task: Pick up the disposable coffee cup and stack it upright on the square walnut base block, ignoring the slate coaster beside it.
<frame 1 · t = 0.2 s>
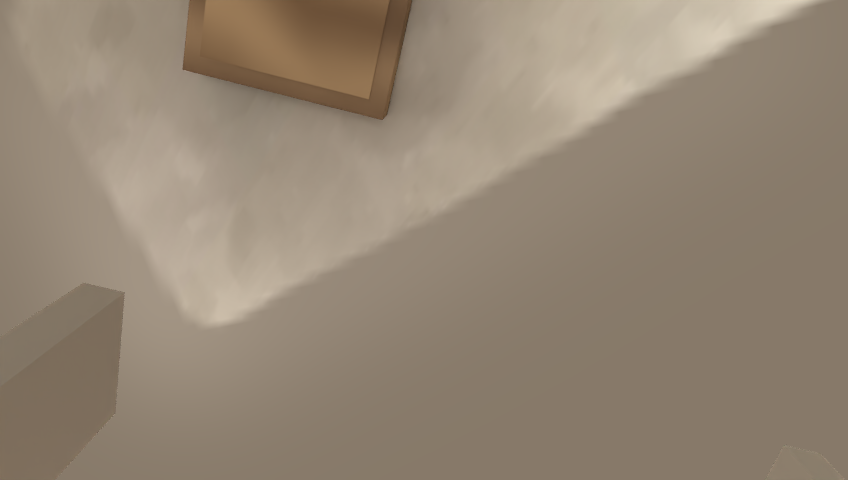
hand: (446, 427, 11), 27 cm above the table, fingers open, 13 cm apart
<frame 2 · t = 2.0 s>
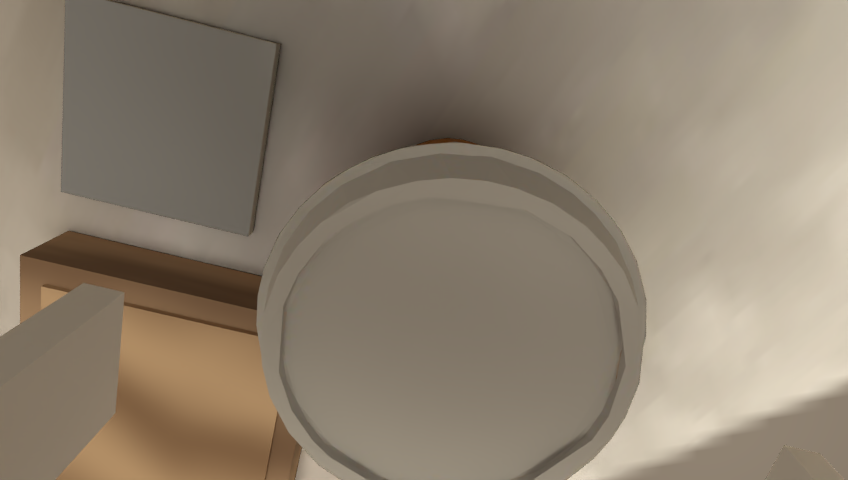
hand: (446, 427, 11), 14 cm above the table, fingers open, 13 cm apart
walnut base: (189, 374, 27), on the table
slate coaster: (170, 119, 23), on the table
disposable coffee cup: (447, 210, 24), on the table
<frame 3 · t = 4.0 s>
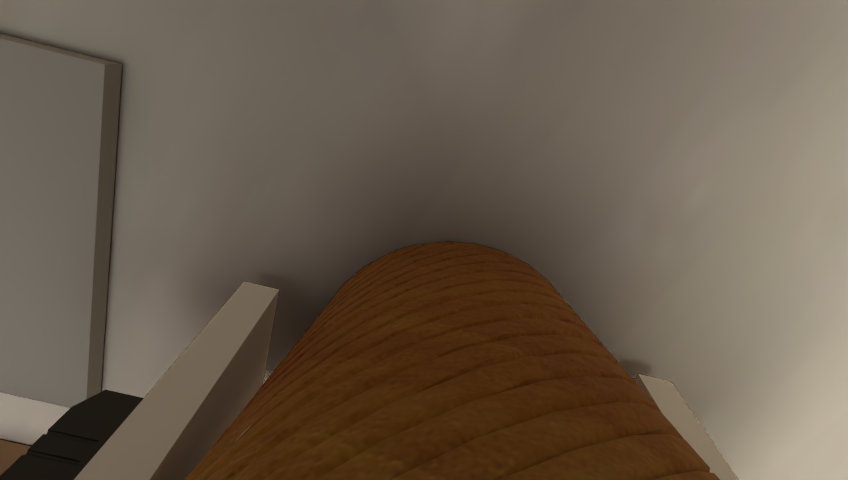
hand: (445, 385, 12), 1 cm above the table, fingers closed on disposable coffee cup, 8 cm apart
disposable coffee cup: (447, 362, 13), on the table, touching gripper
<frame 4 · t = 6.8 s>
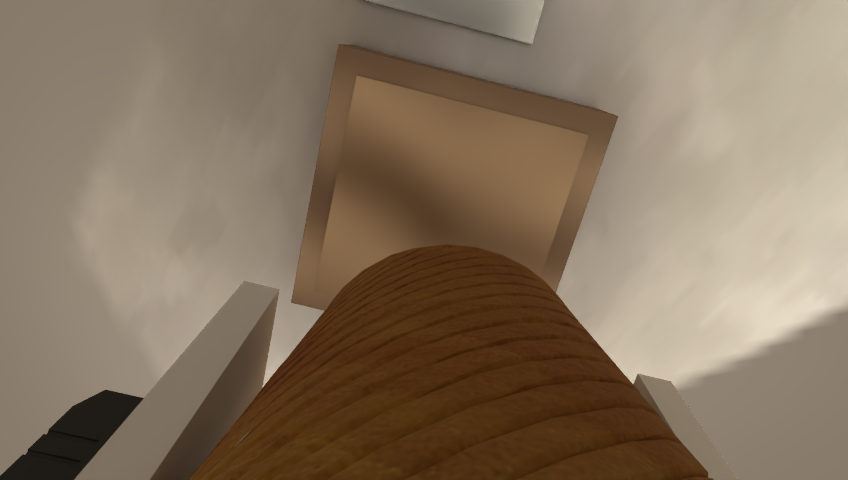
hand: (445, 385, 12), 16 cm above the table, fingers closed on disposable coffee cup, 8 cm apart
walnut base: (443, 198, 28), on the table
disposable coffee cup: (446, 364, 13), point 15 cm above the table, touching gripper
when the fingers open (5 cm above the table, at t = 9.6 s): disposable coffee cup stays where it is, resting on walnut base.
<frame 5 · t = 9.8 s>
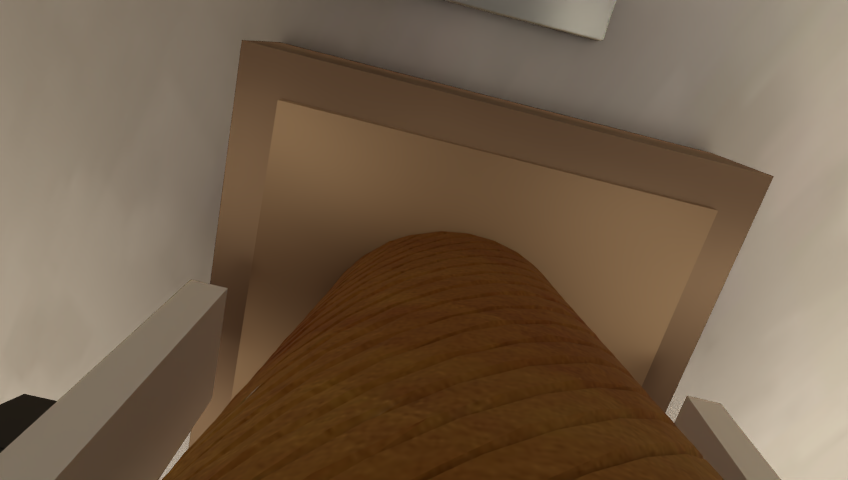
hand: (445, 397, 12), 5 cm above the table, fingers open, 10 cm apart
walnut base: (444, 296, 17), on the table
disposable coffee cup: (442, 347, 14), point 3 cm above the table, touching walnut base
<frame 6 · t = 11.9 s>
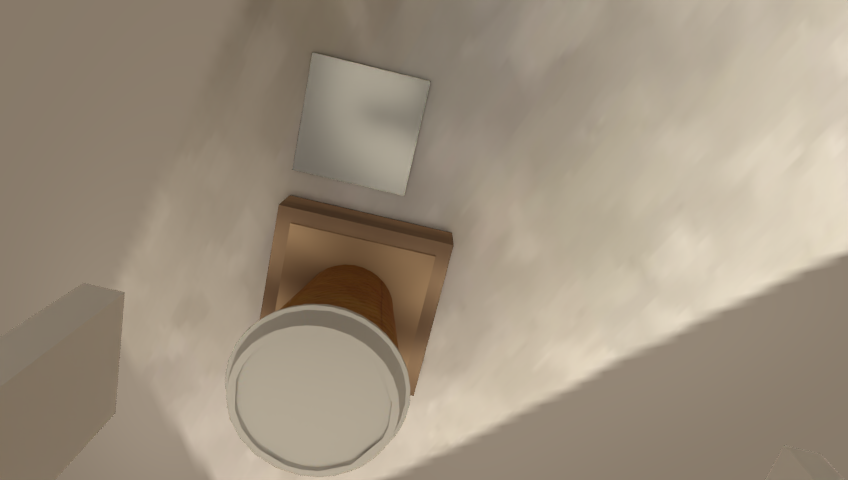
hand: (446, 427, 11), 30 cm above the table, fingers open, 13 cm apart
walnut base: (355, 289, 42), on the table
slate coaster: (360, 125, 39), on the table
disposable coffee cup: (348, 305, 39), point 3 cm above the table, touching walnut base
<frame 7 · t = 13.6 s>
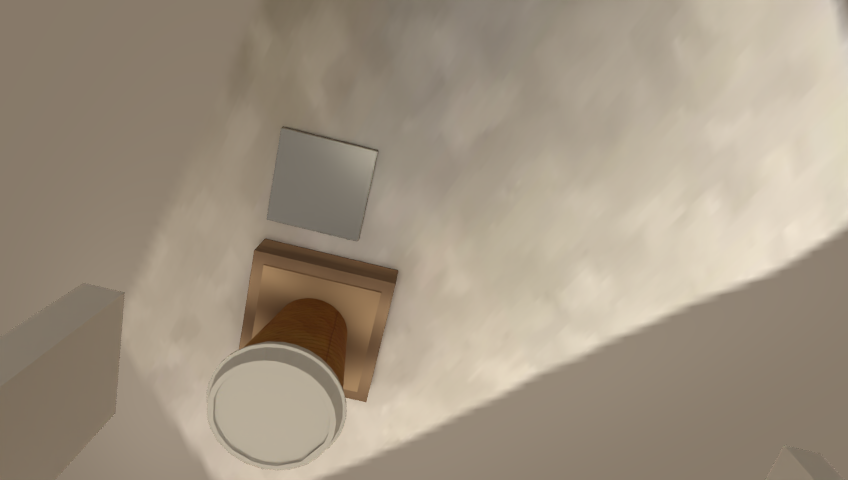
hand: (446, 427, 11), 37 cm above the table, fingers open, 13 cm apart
walnut base: (319, 314, 51), on the table
slate coaster: (322, 184, 47), on the table
disposable coffee cup: (311, 329, 48), point 3 cm above the table, touching walnut base
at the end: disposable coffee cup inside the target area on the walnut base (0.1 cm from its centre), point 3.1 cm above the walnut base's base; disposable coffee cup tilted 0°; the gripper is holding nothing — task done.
